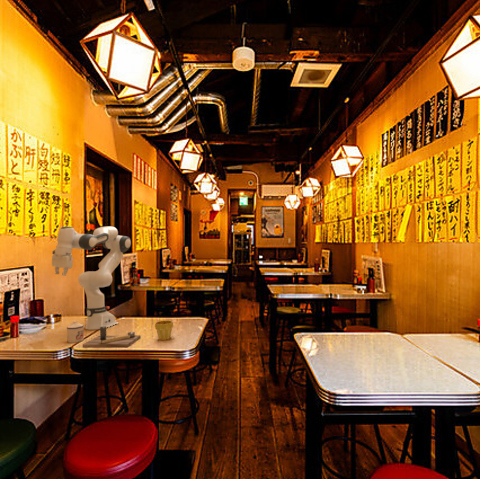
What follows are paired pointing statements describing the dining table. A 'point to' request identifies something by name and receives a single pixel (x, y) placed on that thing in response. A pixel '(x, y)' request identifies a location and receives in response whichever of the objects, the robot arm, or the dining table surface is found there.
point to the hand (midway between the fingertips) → (60, 274)
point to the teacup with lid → (75, 332)
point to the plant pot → (164, 329)
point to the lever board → (119, 343)
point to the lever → (105, 340)
